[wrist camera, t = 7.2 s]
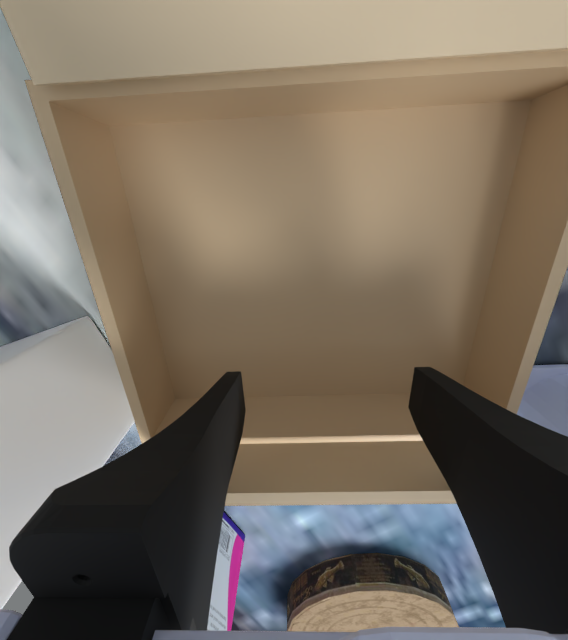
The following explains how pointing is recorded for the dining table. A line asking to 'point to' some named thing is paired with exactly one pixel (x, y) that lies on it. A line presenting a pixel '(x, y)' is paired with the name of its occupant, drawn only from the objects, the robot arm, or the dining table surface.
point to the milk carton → (53, 422)
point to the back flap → (336, 474)
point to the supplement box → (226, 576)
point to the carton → (319, 233)
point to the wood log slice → (367, 595)
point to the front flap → (266, 34)
